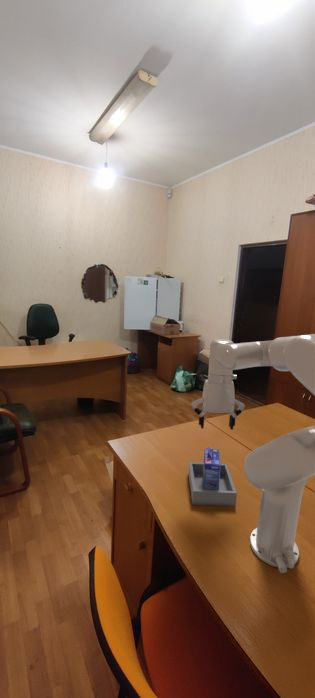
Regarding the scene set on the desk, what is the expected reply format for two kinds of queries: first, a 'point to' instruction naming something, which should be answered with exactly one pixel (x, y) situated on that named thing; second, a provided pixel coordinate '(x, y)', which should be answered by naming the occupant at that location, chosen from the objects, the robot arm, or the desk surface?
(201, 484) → the bin
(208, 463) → the ink cartridge box
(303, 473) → the robot arm
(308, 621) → the desk surface
